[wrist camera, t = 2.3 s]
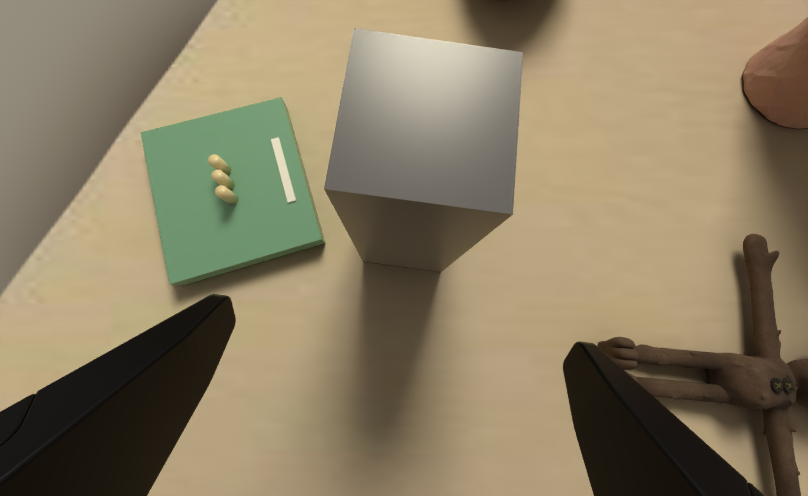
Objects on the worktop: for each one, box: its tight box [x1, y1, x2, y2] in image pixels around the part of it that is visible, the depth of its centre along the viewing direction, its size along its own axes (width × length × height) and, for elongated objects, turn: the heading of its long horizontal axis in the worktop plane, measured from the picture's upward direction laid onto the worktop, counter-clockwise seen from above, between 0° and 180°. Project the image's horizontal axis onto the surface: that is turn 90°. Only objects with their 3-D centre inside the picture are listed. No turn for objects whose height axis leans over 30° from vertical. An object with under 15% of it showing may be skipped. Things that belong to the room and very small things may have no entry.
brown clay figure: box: [598, 234, 808, 496], centre depth 19 cm, size 18×4×14 cm
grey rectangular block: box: [324, 28, 523, 272], centre depth 15 cm, size 5×5×12 cm
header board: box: [141, 97, 325, 286], centre depth 20 cm, size 10×9×3 cm
